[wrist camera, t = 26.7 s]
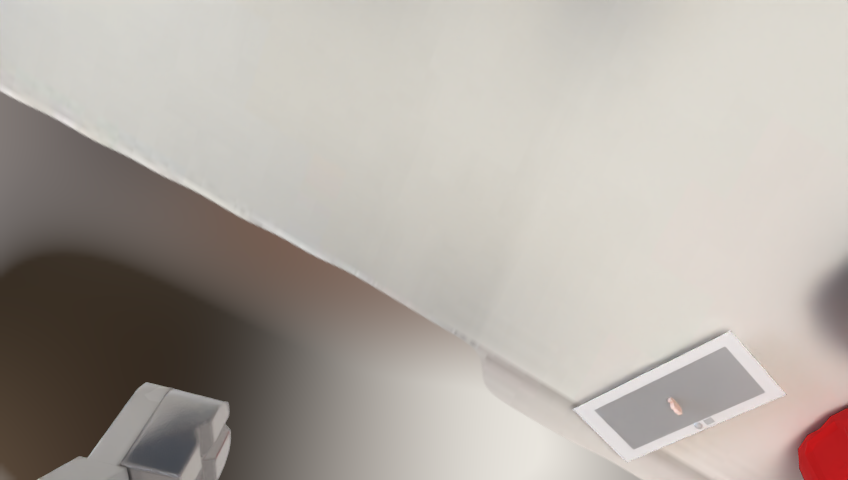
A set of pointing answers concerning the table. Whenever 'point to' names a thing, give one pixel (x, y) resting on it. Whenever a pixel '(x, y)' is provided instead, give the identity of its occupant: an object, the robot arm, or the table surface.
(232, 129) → the table surface
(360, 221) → the table surface
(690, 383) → the touchpad
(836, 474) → the water bottle
